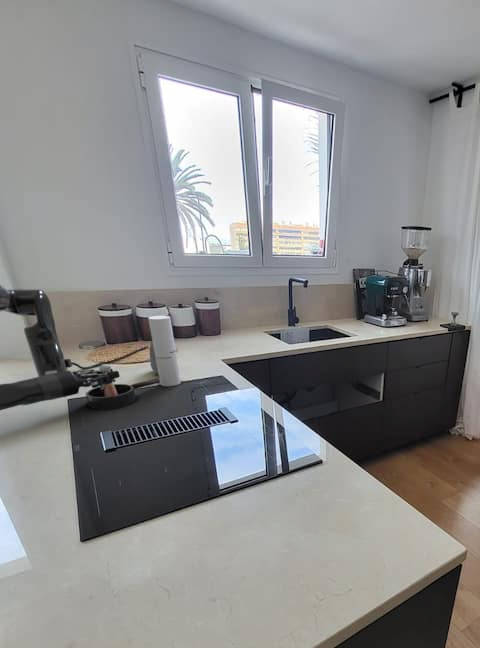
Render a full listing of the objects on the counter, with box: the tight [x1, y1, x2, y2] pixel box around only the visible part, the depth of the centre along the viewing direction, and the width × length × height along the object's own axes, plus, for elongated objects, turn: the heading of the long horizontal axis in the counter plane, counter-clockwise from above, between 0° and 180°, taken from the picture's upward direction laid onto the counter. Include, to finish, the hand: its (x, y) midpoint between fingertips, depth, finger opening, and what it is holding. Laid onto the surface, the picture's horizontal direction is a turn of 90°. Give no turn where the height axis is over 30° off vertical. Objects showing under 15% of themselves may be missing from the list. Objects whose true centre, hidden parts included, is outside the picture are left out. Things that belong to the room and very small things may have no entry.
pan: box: [85, 383, 136, 410], centre depth 132 cm, size 14×14×4 cm
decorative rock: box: [149, 340, 159, 376], centre depth 159 cm, size 16×7×15 cm, turn 36°
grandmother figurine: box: [98, 363, 118, 397], centre depth 130 cm, size 8×4×13 cm, turn 11°
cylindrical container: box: [147, 315, 182, 387], centre depth 146 cm, size 7×7×25 cm
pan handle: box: [129, 377, 160, 390], centre depth 140 cm, size 11×2×2 cm, turn 145°
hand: (115, 372), depth 131 cm, fingers closed on grandmother figurine, 3 cm apart
